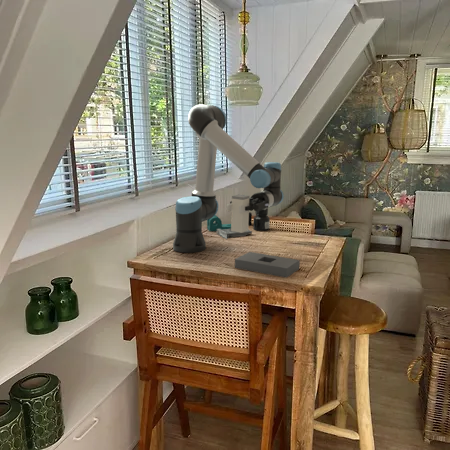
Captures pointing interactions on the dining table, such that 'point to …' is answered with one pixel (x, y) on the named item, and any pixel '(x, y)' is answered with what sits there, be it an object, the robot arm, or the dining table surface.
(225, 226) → the bracket
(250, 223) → the digital camera
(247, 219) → the plug
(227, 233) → the graphics card
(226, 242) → the dining table surface
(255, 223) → the ink bottle
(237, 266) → the plate with square hole
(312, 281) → the dining table surface
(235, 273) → the dining table surface
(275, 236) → the dining table surface
